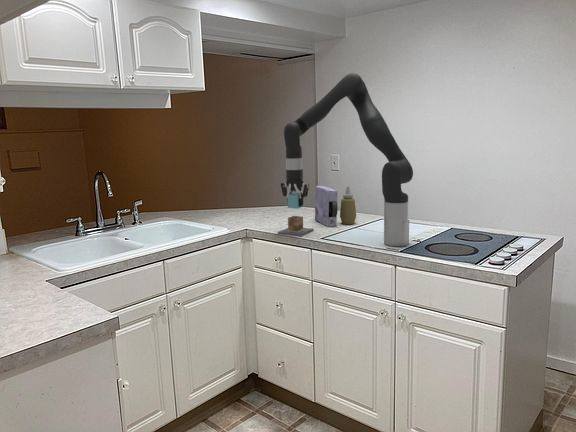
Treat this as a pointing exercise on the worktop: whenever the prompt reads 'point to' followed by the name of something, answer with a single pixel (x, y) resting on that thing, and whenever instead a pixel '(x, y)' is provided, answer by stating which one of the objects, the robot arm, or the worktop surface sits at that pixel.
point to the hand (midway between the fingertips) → (295, 205)
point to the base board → (294, 233)
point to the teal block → (293, 201)
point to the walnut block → (295, 223)
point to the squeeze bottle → (348, 208)
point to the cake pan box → (326, 206)
